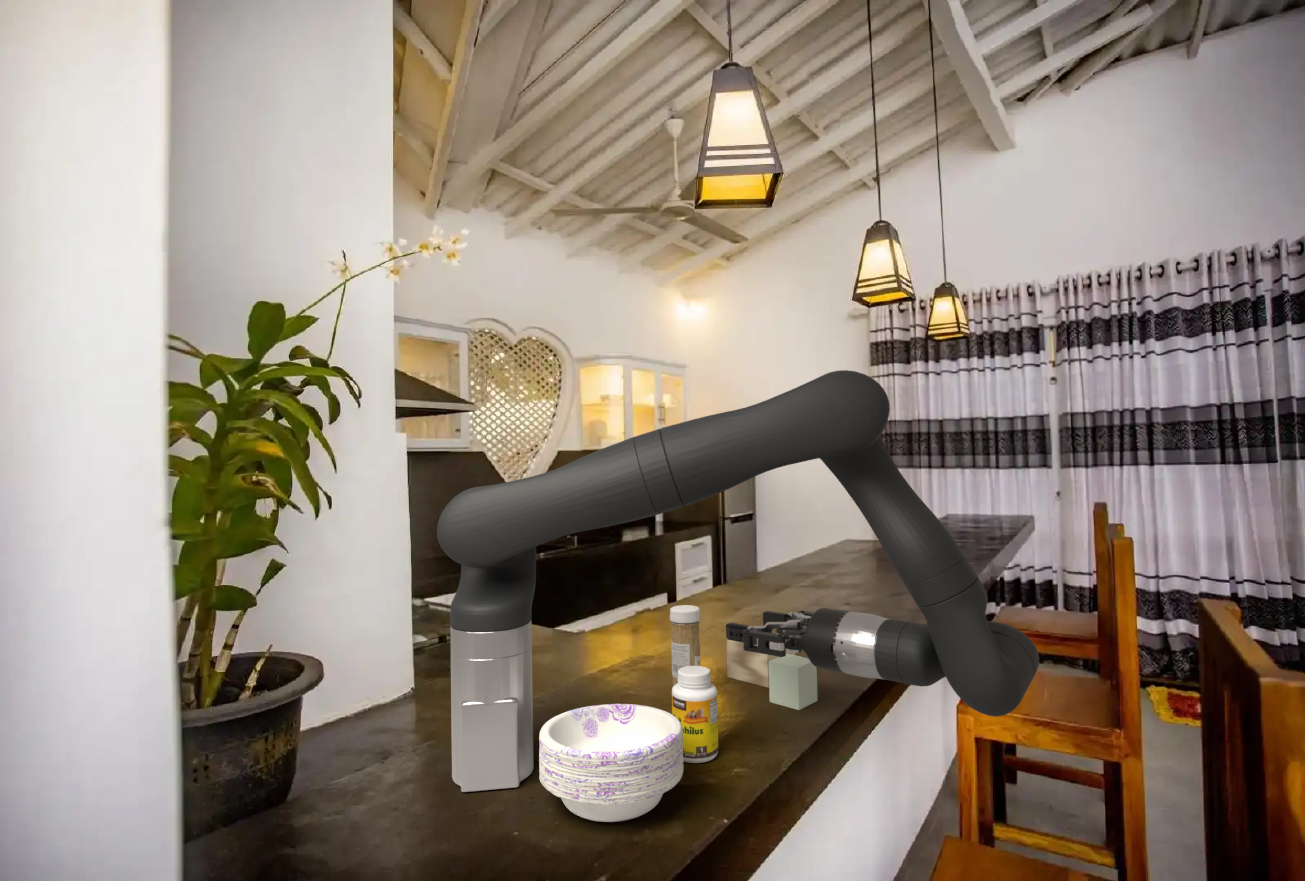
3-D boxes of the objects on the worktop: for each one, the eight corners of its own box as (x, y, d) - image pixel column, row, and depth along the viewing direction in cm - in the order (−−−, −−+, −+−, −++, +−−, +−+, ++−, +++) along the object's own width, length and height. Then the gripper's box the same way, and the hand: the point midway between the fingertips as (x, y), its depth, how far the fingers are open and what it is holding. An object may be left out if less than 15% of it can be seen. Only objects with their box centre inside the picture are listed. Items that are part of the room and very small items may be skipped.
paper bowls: (633, 756, 83) (632, 690, 83) (713, 808, 70) (712, 730, 70) (516, 793, 74) (515, 719, 74) (583, 859, 62) (582, 770, 62)
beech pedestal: (796, 675, 112) (795, 638, 112) (768, 687, 106) (767, 648, 107) (756, 665, 118) (755, 630, 118) (727, 676, 112) (726, 640, 112)
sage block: (817, 701, 100) (816, 660, 101) (798, 710, 97) (797, 667, 97) (788, 693, 104) (787, 653, 104) (769, 702, 100) (768, 661, 100)
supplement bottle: (664, 759, 82) (662, 673, 82) (685, 742, 87) (683, 661, 87) (706, 769, 79) (704, 680, 79) (726, 750, 84) (724, 666, 84)
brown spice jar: (708, 698, 102) (706, 607, 103) (683, 704, 100) (681, 612, 100) (689, 689, 106) (688, 602, 107) (665, 695, 104) (663, 606, 104)
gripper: (877, 602, 89) (774, 589, 101) (821, 623, 79) (713, 606, 91) (880, 659, 89) (776, 640, 101) (824, 688, 79) (715, 663, 90)
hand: (746, 624), depth 96 cm, fingers open, 8 cm apart
